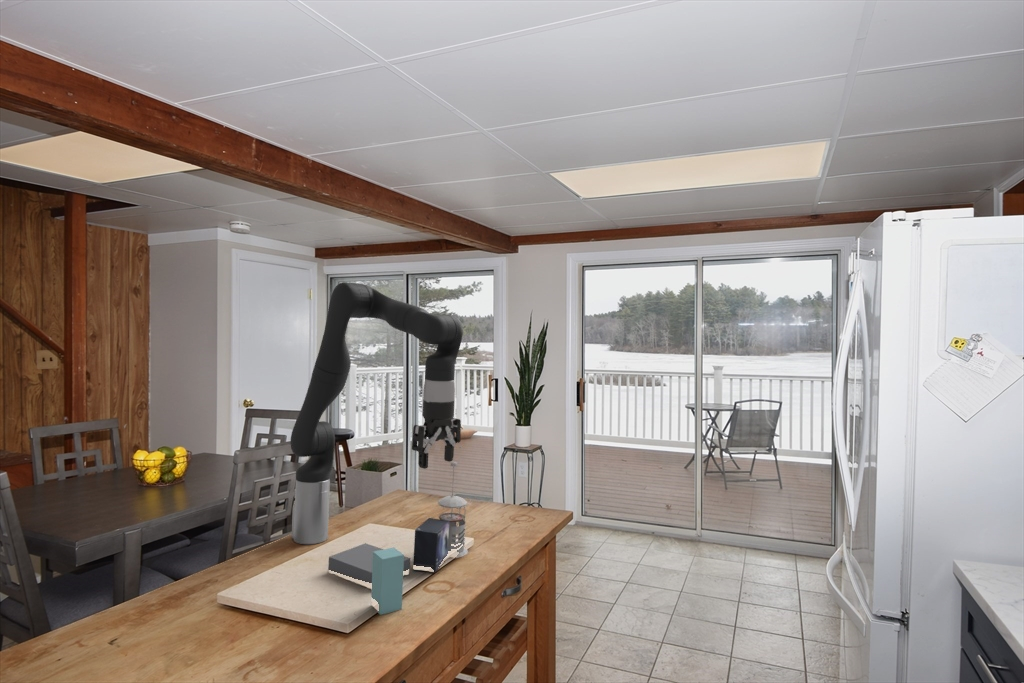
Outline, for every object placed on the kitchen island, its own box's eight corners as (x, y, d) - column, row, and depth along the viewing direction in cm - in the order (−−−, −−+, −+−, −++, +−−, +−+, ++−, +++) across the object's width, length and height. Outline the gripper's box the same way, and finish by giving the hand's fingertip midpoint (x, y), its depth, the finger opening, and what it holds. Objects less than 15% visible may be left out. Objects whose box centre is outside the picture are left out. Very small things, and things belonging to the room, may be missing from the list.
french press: (425, 554, 161) (429, 462, 161) (446, 540, 172) (449, 454, 172) (458, 560, 158) (461, 467, 157) (476, 546, 168) (480, 459, 168)
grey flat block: (328, 572, 147) (328, 556, 147) (364, 558, 157) (365, 543, 157) (374, 590, 138) (374, 573, 138) (409, 574, 148) (410, 558, 148)
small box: (436, 574, 149) (438, 532, 149) (411, 571, 150) (413, 529, 150) (449, 558, 159) (450, 519, 159) (426, 555, 160) (427, 517, 160)
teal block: (370, 605, 131) (373, 551, 130) (391, 600, 134) (393, 547, 133) (380, 615, 127) (382, 559, 126) (401, 609, 130) (404, 554, 129)
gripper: (447, 393, 150) (445, 455, 152) (405, 399, 139) (403, 466, 140) (470, 397, 146) (467, 462, 147) (428, 403, 134) (425, 473, 136)
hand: (436, 464), depth 144 cm, fingers open, 8 cm apart
